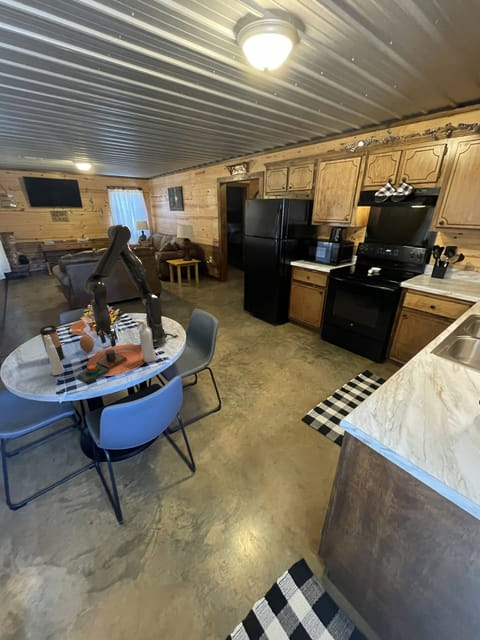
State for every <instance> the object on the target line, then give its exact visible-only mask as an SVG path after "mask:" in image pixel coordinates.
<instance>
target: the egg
mask: <svg viewBox="0 0 480 640" xmlns="http://www.w3.org/2000/svg"><path fill="white" fill-rule="evenodd" d="M79 347H80V349H81V350H82V351H83V352H86V353H89V352H91V351H93V349H94V348H95V341H94V339H93V337H91V336H90V335H88V334H84V335H82V336H81V337H80V339H79Z"/></svg>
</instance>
